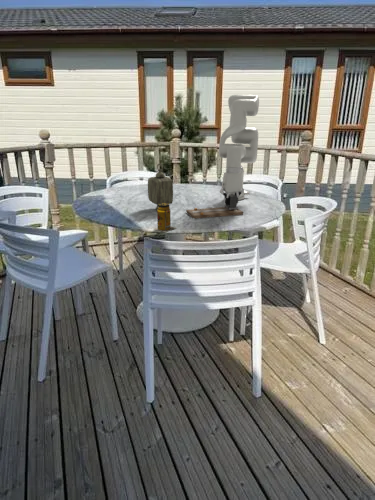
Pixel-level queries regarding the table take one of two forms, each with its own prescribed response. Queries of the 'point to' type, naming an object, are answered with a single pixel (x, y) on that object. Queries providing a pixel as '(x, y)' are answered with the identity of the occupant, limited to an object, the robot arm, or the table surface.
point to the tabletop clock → (160, 188)
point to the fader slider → (232, 202)
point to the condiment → (164, 218)
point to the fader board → (212, 212)
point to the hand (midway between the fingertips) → (231, 204)
